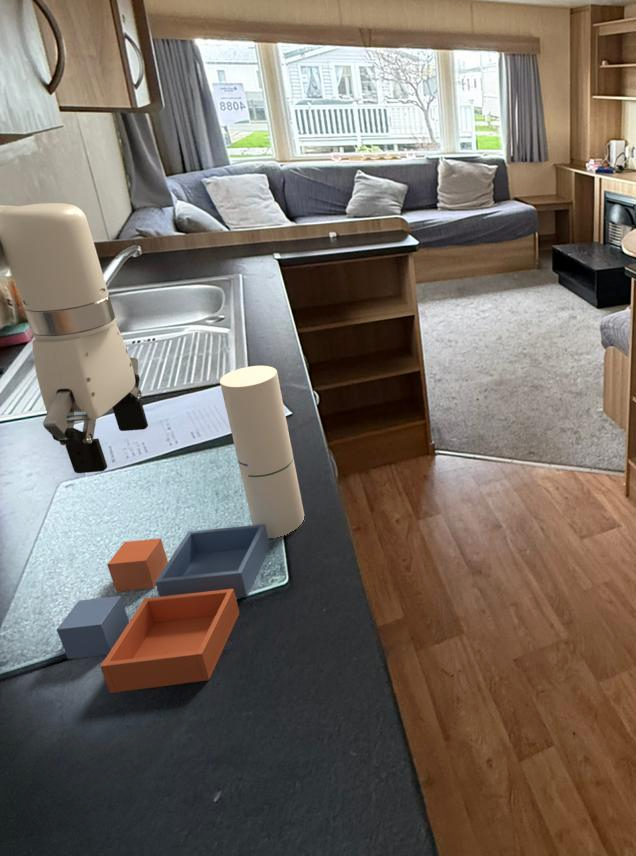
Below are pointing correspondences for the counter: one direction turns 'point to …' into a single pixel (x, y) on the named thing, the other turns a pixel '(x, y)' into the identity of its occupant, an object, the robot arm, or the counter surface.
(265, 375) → the cylindrical container
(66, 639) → the slate block
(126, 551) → the terracotta block
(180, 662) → the terracotta bin
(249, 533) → the slate bin
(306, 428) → the counter surface
